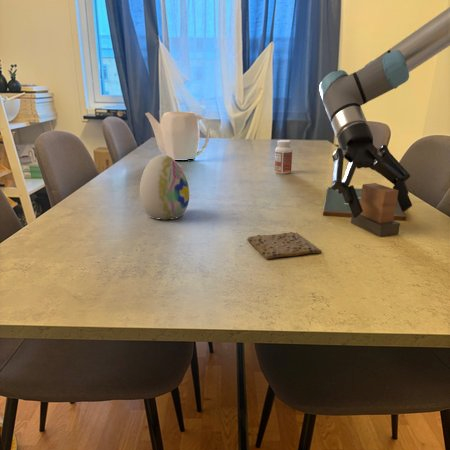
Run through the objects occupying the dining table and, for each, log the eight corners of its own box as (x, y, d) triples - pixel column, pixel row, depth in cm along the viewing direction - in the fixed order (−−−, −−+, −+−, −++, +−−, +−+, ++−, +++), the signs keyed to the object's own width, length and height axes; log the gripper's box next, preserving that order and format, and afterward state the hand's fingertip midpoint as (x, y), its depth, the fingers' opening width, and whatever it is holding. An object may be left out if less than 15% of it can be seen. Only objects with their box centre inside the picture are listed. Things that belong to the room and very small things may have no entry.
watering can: (152, 156, 193) (148, 110, 184) (211, 156, 192) (210, 110, 184) (145, 162, 179) (140, 113, 171) (208, 162, 178) (207, 113, 170)
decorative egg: (177, 224, 104) (173, 160, 97) (133, 219, 107) (126, 157, 101) (197, 211, 114) (195, 152, 107) (156, 207, 118) (152, 149, 111)
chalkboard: (394, 193, 130) (395, 190, 129) (405, 220, 106) (406, 216, 105) (326, 190, 134) (327, 186, 134) (322, 215, 110) (323, 211, 109)
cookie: (322, 252, 86) (323, 248, 86) (266, 259, 83) (266, 255, 83) (297, 234, 97) (297, 230, 96) (246, 239, 93) (246, 235, 93)
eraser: (398, 234, 97) (406, 191, 92) (379, 236, 95) (387, 193, 91) (368, 220, 106) (373, 181, 101) (350, 222, 104) (355, 183, 100)
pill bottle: (291, 171, 161) (293, 139, 156) (290, 174, 156) (292, 142, 151) (274, 170, 162) (276, 139, 157) (273, 173, 157) (274, 141, 152)
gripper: (386, 140, 109) (416, 214, 103) (299, 145, 102) (327, 225, 96) (404, 119, 102) (438, 197, 97) (313, 123, 95) (344, 208, 89)
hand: (383, 211), depth 96 cm, fingers open, 12 cm apart
